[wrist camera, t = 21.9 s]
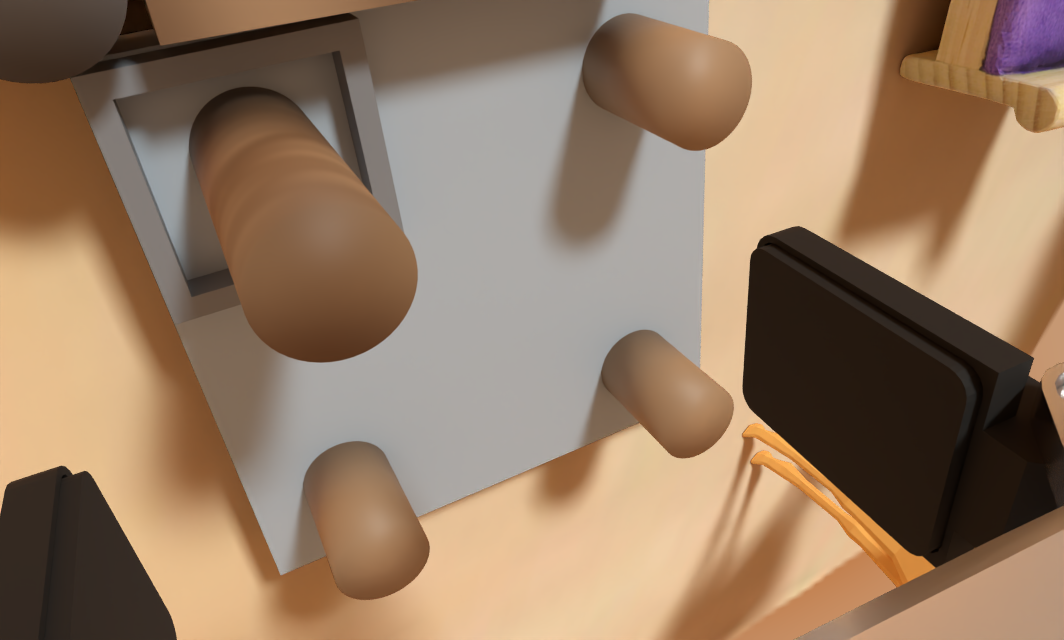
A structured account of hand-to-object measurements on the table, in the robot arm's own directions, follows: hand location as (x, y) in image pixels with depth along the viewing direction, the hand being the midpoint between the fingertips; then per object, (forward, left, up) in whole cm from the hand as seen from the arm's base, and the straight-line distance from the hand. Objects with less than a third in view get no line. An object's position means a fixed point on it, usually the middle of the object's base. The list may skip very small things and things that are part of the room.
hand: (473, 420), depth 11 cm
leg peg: (+1, -1, -12) cm, 12 cm away
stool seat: (-4, +5, -14) cm, 16 cm away
